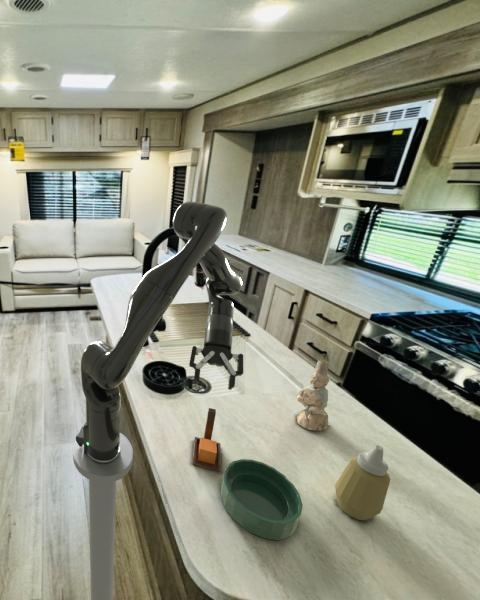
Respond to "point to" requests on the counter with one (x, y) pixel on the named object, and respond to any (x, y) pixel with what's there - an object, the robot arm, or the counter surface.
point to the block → (207, 450)
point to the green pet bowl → (261, 499)
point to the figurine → (315, 400)
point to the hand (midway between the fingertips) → (213, 386)
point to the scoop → (208, 436)
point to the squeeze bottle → (363, 485)
